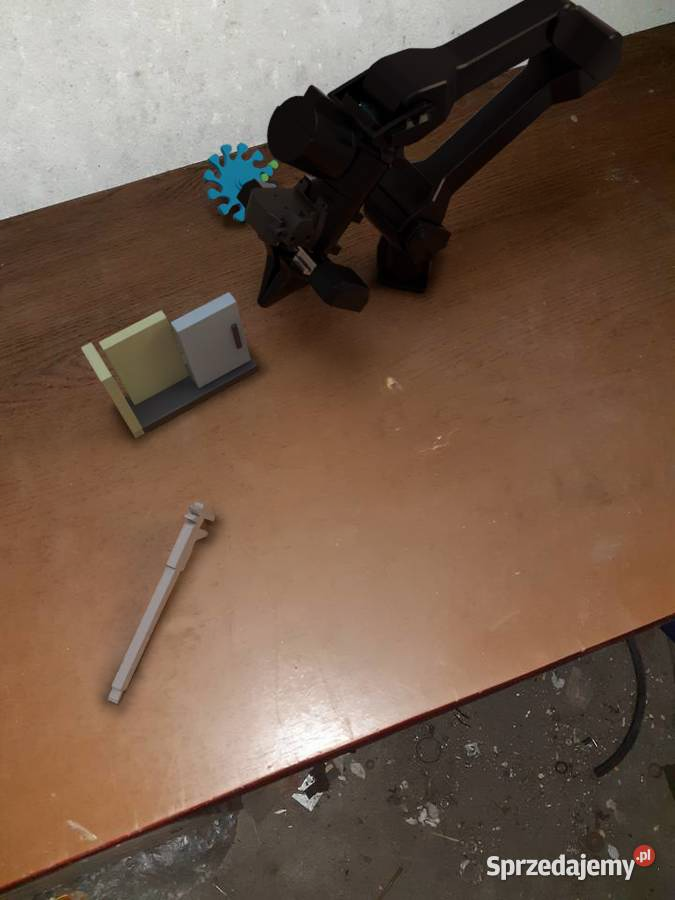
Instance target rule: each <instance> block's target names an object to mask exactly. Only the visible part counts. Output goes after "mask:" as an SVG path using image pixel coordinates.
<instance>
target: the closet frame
mask: <svg viewBox="0 0 675 900" xmlns="http://www.w3.org/2000/svg"><path fill="white" fill-rule="evenodd" d="M98 344H99V346H100V347H101V349H102V351H103V353H104V355H105V356H106V358H107V360H108V362H109V364H110V365H111V367H112V369H113V370H114V372H115V374H116V376H117V377H118V379H119V381H120V383H121V384H122V386H123V388H124V390H125V392H126V393H127V395H125V396H124V394H123V392H122V390H121V389H120V387H119V385H118V384H117V382H116V380H115V378H114V377H113V375H112V373H111V372H110V370H109V369H108V367H107V365H106V364H105V361H104V360H103V358H102V357H101V355H100V354H99V352H98V350H97V349H96V347H95V346H94V344H93V343H92V342H89V343H87V344H85V345H83V346H81V347H80V349H81V350H82V353H83V354H84V356H85V358H86V359H87V361H88V363H89V364H90V366H91V368H92V369H93V371H94V373H95V374H96V376H97V377H98V379H99V381H100V382H101V385H102V386H103V387H104V389H105V390H106V393H107V394H108V395H109V397H110V399H111V401H112V402H113V404H114V405H115V407H116V409H117V411H118V412H119V414H120V415H121V417H122V418H123V420H124V421H125V423H126V425H127V426H128V428H129V430H130V431H131V433H132V436H134V438H135V439H137V438H139V437H141V436H143V435H145V434H146V433H149V432H150V431H152V430H153V429H155V428H158V427H159V426H161V425H162V424H165V423H166V422H168V421H170V420H172V419H173V418H175V417H177V416H179V415H181V414H183V413H185V412H186V411H188V410H190V409H192V408H194V407H195V406H197V405H199V404H200V403H203V402H204V401H207V400H208V399H209V398H211V397H213V396H215V395H217V394H219V393H220V392H222V391H224V390H226V389H228V388H230V387H231V386H233V385H235V384H237V383H238V382H240V381H242V380H244V379H246V378H248V377H249V376H251V375H252V374H253V375H254V374H255V373H257V372H259V370H260V369H259V364H258V363H257V362H256V360H255V359H254V358H253V356H252V355H251V354H250V353H249V356H250V361H248V362H246V363H245V364H243V365H241V366H239V367H237V368H235V369H234V370H232V371H230V372H228V373H226V374H224V375H223V376H221V377H219V378H217V379H215V380H214V381H212V382H210V383H208V384H206V385H204V386H203V387H201V388H198V387H197V385H196V384H195V382H194V381H193V379H192V376H191V374H190V371H189V369H188V366H187V364H186V361H185V359H184V356H183V354H182V351H181V349H180V346H179V344H178V341H177V339H176V336H175V334H174V331H173V328H172V326H171V323H170V322H169V320H168V317H167V315H166V314H165V313H164V311H163V310H162V309H161V310H158V311H157V312H154V313H153V314H151V315H149V316H147V317H145V318H143V319H141V320H139V321H137V322H135V323H133V324H131V325H129V326H127V327H125V328H124V329H121V330H119V331H117V332H116V333H113V334H111V335H109V336H107V337H106V338H104V339H102V340H100V341H98Z"/></svg>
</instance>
